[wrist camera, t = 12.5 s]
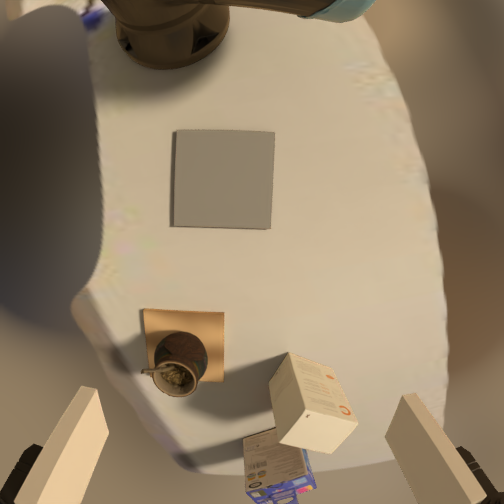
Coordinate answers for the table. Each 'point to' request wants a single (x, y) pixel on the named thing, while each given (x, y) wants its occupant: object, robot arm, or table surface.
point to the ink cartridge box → (275, 469)
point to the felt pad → (224, 178)
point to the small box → (309, 406)
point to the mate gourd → (178, 364)
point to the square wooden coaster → (194, 322)
